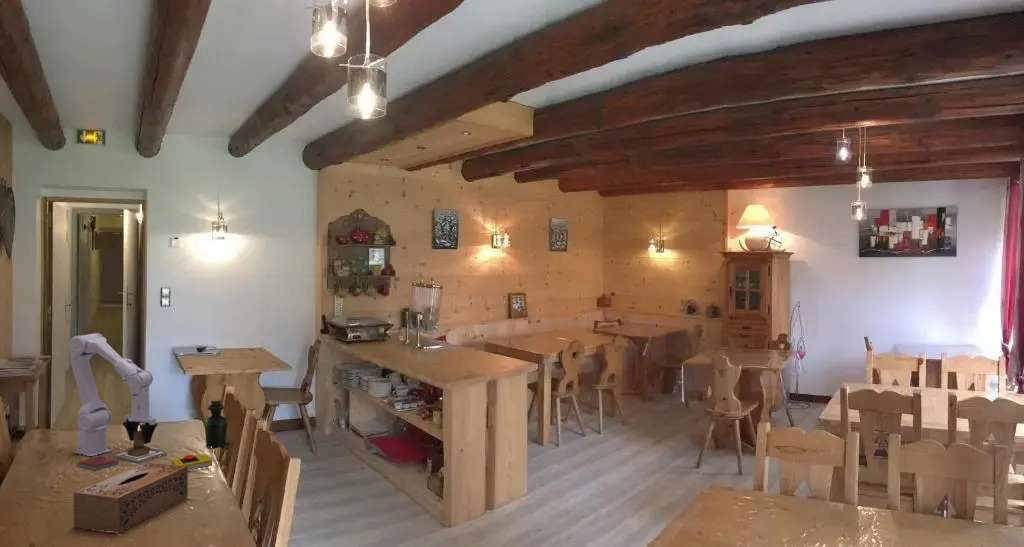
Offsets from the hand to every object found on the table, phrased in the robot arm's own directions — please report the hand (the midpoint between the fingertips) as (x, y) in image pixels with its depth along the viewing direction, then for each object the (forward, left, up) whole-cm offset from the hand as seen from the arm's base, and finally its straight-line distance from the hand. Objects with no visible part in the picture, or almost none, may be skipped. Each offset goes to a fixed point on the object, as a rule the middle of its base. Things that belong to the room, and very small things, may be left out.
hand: (140, 441), depth 230 cm
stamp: (0, -1, -4) cm, 4 cm away
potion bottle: (+14, +21, -6) cm, 26 cm away
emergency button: (+27, +1, -6) cm, 27 cm away
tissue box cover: (+44, -33, -6) cm, 55 cm away
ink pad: (-4, -13, -5) cm, 15 cm away
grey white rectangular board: (0, 0, -5) cm, 5 cm away
